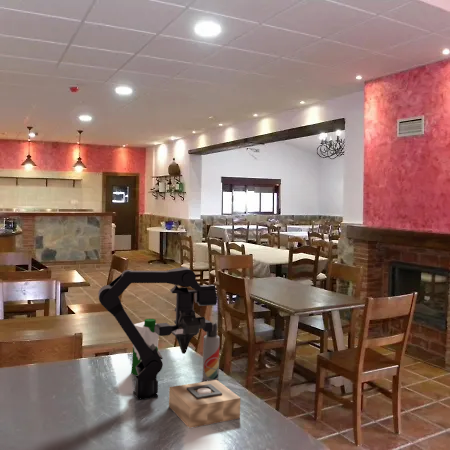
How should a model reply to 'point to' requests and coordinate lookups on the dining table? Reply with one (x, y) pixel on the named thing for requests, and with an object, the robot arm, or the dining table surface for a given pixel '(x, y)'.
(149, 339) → the milk carton
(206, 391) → the dowel
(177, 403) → the socket block
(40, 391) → the dining table surface
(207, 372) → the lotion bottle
